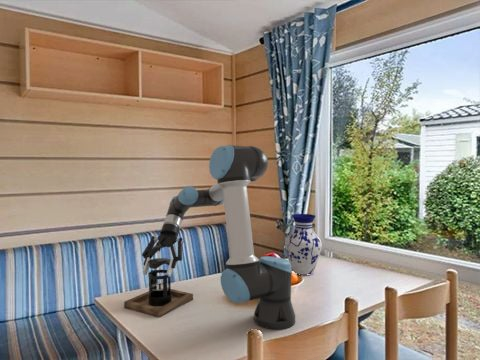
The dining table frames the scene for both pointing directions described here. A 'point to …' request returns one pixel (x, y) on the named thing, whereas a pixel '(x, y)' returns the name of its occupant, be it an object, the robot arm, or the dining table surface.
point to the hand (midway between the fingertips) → (156, 274)
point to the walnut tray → (143, 306)
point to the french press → (159, 290)
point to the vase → (303, 245)
